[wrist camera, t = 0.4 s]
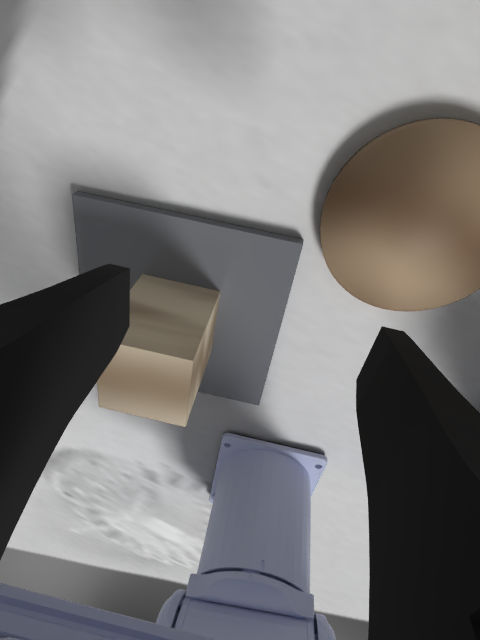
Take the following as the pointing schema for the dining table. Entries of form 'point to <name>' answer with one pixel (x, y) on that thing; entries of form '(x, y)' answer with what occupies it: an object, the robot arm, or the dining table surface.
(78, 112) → the dining table surface
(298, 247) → the tile
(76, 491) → the dining table surface
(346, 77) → the dining table surface
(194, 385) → the maple block
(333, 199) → the cork coaster
